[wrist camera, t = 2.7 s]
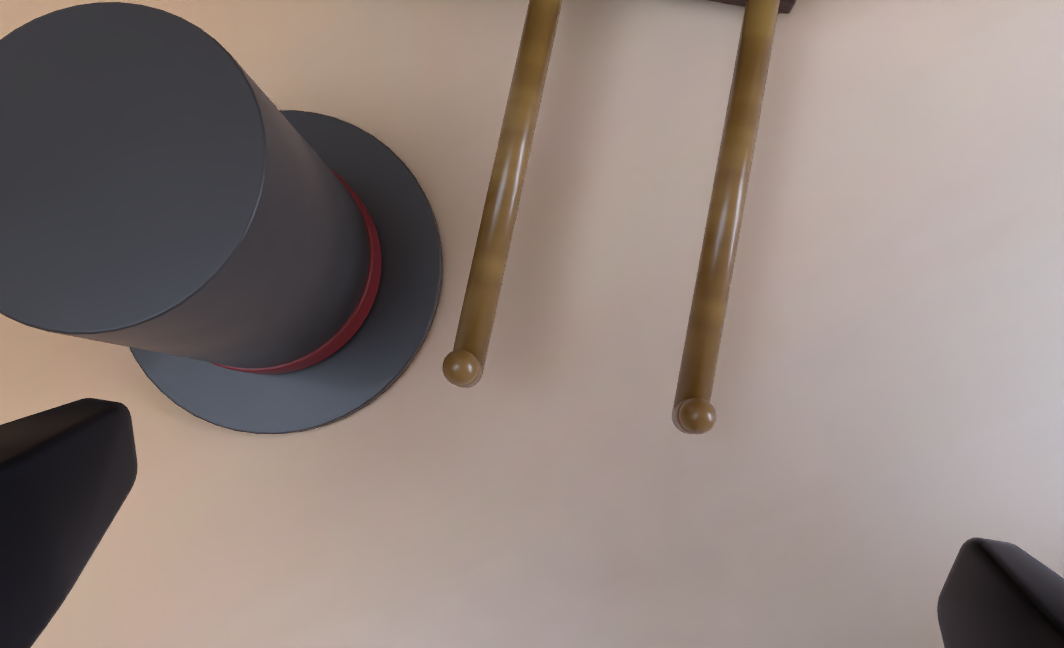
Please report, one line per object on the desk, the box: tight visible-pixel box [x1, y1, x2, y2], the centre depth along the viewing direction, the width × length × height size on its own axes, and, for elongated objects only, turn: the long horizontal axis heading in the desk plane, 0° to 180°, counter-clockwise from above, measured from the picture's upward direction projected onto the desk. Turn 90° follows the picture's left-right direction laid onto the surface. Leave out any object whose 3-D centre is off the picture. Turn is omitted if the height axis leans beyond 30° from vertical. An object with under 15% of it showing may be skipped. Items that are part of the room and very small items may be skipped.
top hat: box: [0, 2, 442, 434], centre depth 20 cm, size 10×10×10 cm
